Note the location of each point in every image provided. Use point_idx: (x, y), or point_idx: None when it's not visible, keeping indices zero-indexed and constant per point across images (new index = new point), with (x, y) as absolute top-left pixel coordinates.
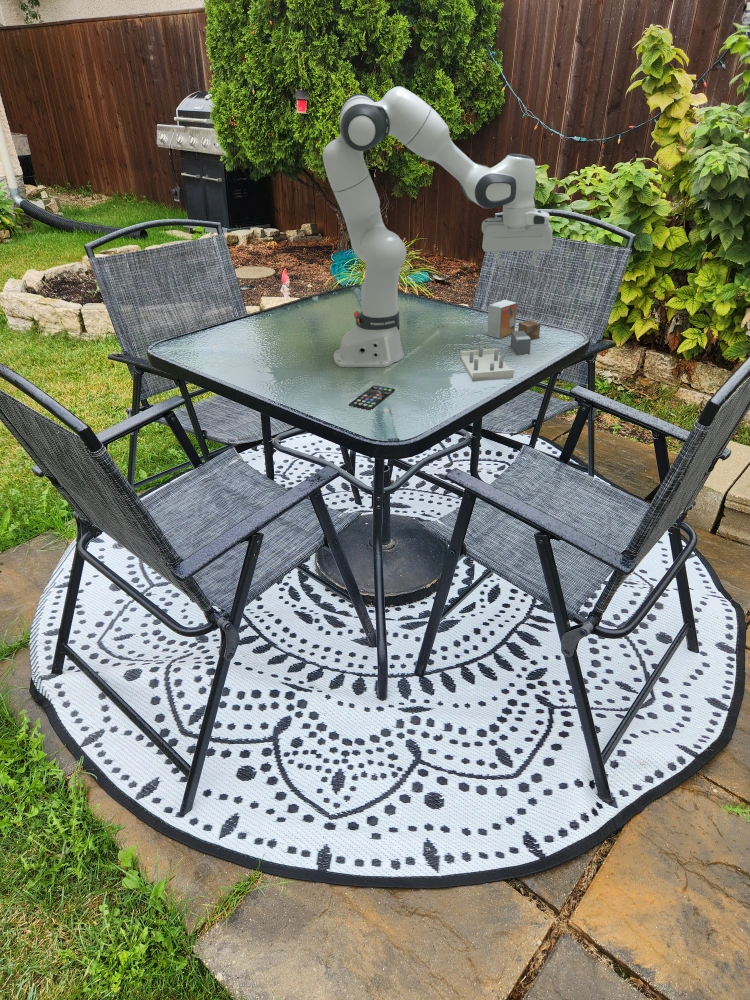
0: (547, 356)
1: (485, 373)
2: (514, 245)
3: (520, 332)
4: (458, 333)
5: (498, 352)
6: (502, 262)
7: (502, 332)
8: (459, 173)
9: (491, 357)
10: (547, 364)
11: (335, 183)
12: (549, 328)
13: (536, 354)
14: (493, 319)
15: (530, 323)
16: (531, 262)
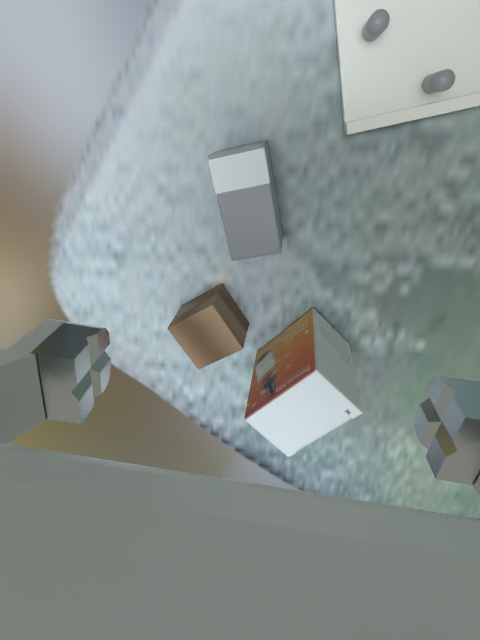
0: (155, 125)
1: None
2: (337, 633)
3: (244, 242)
4: (445, 366)
5: (345, 122)
6: (458, 402)
7: (301, 324)
8: None
9: (384, 68)
10: (155, 25)
11: None
12: (150, 380)
13: (194, 148)
14: (338, 359)
15: (202, 334)
16: (70, 342)
